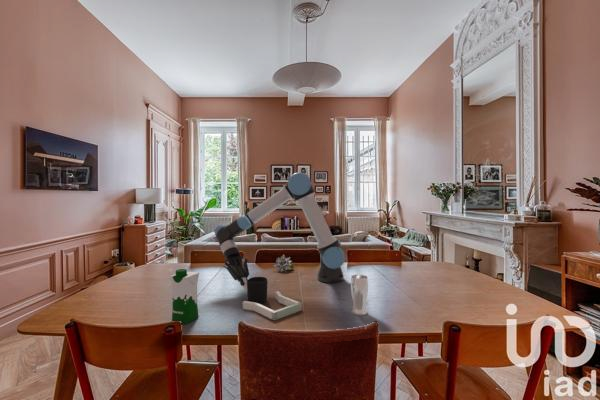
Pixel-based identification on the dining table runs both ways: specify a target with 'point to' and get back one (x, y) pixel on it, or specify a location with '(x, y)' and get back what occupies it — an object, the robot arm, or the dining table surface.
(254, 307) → the bay
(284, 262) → the grey spiky ball
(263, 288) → the pen holder
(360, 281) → the beer glass
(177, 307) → the milk carton
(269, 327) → the dining table surface
